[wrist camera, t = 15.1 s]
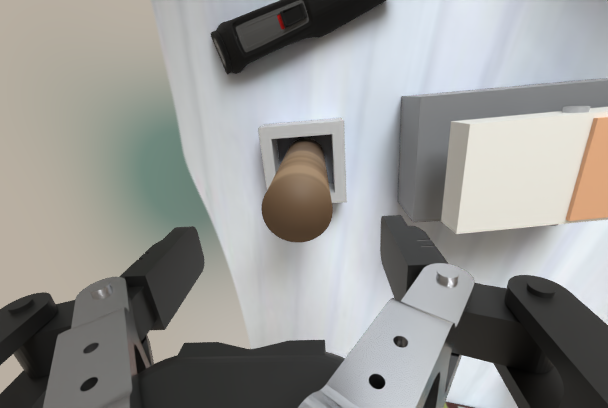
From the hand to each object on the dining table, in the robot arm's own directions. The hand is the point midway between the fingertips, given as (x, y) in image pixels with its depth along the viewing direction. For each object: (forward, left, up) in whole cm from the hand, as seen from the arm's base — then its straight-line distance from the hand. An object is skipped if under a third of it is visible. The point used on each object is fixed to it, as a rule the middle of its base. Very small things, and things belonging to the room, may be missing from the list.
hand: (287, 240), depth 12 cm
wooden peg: (0, 0, -16) cm, 16 cm away
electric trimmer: (-12, 0, -17) cm, 21 cm away
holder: (0, 0, -16) cm, 16 cm away
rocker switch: (0, +17, -8) cm, 19 cm away
